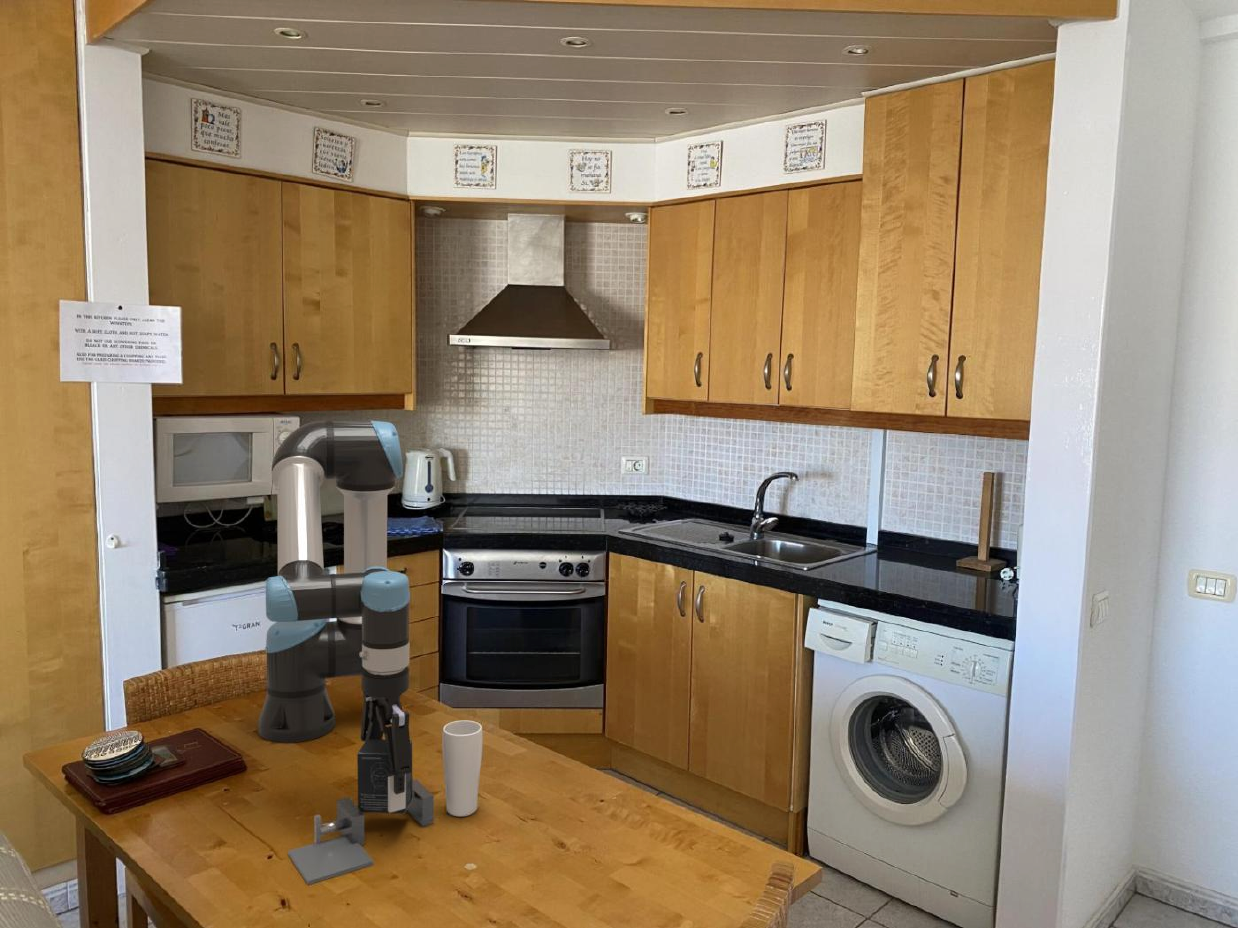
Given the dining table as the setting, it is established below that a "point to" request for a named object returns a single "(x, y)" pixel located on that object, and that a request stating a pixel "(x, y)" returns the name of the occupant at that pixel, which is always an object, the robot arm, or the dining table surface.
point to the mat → (329, 859)
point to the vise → (353, 818)
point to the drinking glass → (462, 766)
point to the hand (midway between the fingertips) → (385, 797)
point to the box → (377, 778)
